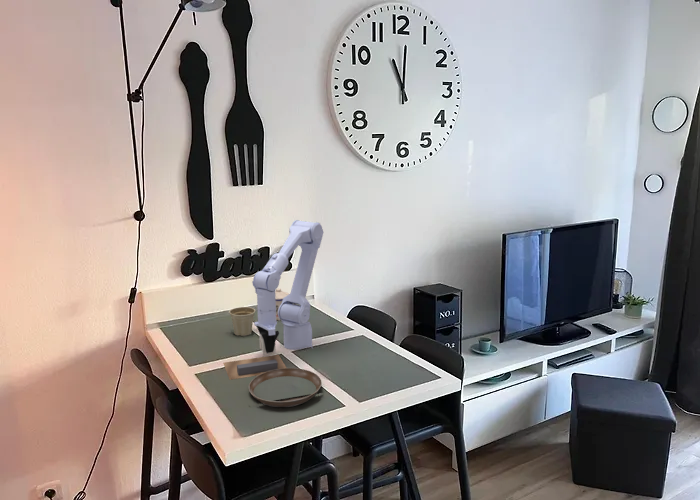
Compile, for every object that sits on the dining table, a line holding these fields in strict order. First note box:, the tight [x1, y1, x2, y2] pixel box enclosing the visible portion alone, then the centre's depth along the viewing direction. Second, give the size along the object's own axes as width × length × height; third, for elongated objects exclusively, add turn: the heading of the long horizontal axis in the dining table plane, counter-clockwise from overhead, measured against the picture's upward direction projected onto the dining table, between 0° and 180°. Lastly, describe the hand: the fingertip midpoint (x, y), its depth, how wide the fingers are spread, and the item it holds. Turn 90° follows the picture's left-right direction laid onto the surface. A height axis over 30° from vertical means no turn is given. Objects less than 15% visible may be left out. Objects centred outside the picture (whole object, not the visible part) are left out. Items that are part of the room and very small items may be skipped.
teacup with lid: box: [275, 287, 297, 321], centre depth 222 cm, size 12×9×12 cm
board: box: [222, 354, 288, 381], centre depth 175 cm, size 18×13×1 cm
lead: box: [237, 359, 278, 376], centre depth 171 cm, size 12×3×2 cm, turn 111°
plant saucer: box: [248, 367, 322, 408], centre depth 160 cm, size 21×21×3 cm
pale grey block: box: [258, 333, 277, 355], centre depth 179 cm, size 4×5×5 cm
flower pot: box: [228, 306, 256, 337], centre depth 205 cm, size 9×9×9 cm
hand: (267, 348), depth 179 cm, fingers closed on pale grey block, 5 cm apart
